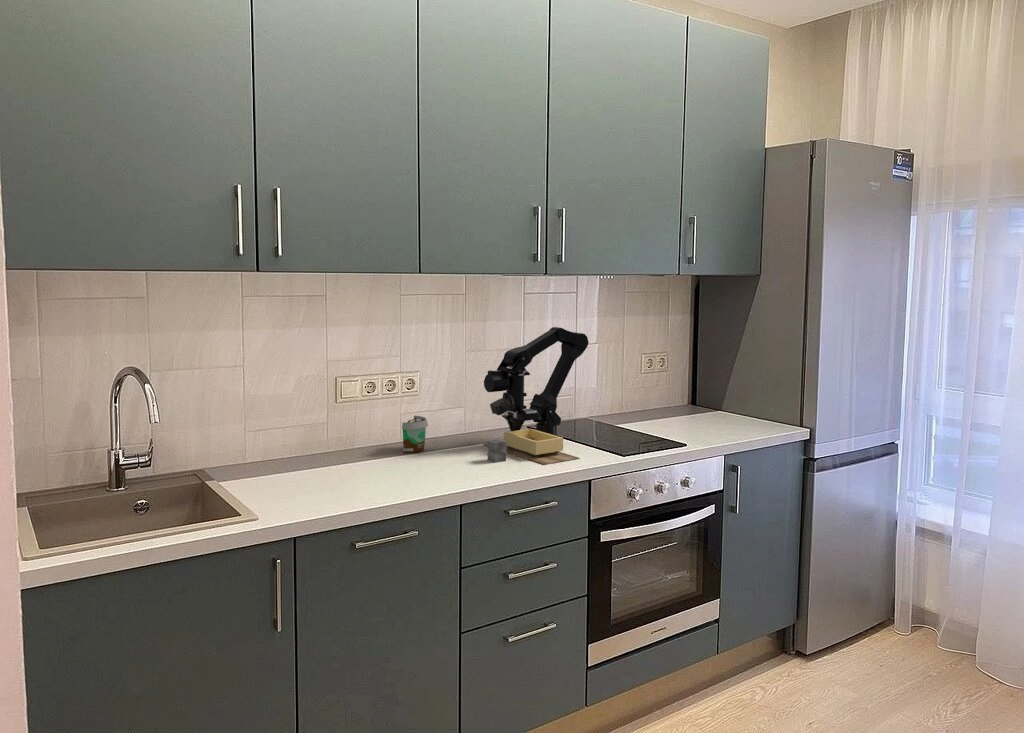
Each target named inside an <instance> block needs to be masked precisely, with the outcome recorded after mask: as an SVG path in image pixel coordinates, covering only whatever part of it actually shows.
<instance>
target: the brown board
mask: <svg viewBox="0 0 1024 733" xmlns="http://www.w3.org/2000/svg"><path fill="white" fill-rule="evenodd" d="M482 445H484V446H486V447H488V442H485V443H484V442H483V443H482ZM506 454H509V455H512V456H515V457H519V458H521V459H525V460H526V461H527V460H528V461H530V462H534V463H536V464H539V465H542V466H545V465H552V464H556V463H563V462H569V461H574V460H580V459H581V458H580V457H578V456H576V455H572V454H568V453H565V452H563V451H559V453H553V452H551V453H545V454H539V455H537V456H535V457H532V456H531V455H530V453H528V452H525V451H522V450H519V449H516V448H513V449H508V447H507V445H506Z"/></svg>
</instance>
